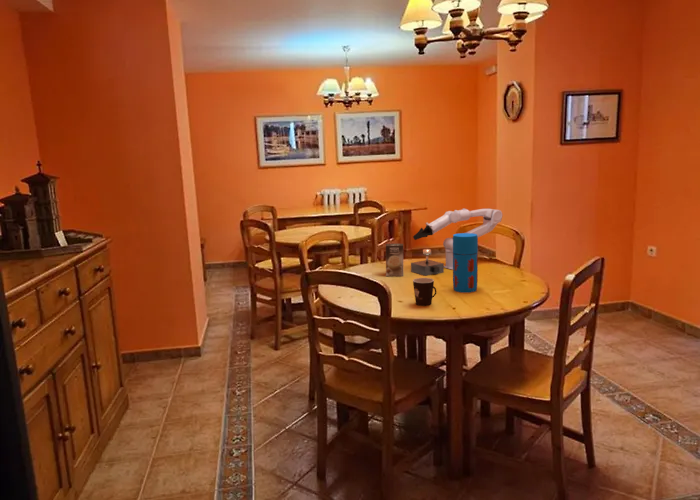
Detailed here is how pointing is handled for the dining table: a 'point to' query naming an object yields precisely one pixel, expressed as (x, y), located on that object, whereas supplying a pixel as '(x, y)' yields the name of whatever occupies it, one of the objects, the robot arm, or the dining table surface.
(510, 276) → the dining table surface
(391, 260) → the coffee box
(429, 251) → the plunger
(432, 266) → the grey flat box
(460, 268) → the thermos
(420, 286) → the coffee mug
